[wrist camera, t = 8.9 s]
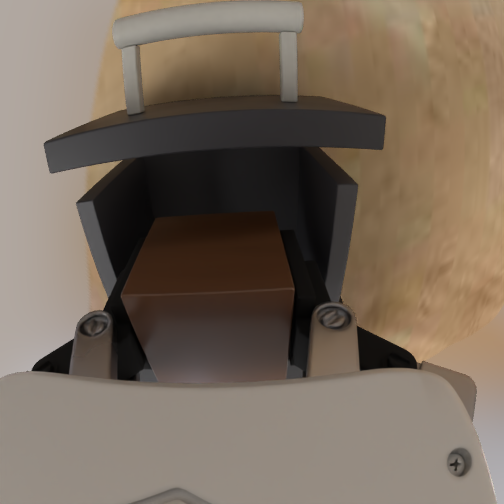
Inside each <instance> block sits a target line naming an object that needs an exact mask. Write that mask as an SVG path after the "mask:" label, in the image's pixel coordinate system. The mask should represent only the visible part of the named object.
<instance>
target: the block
mask: <svg viewBox="0 0 504 504" xmlns="http://www.w3.org/2000/svg"><path fill="white" fill-rule="evenodd" d="M294 293H295V287H294V284H293V280H292V276H291V272H290V268H289V264H288V260H287V257H286V253H285V249H284V245H283V241H282V238H281V234H280V230H279V227H278V223H277V219H276V216H275V212H274V211H254V212H234V213H217V214H201V215H186V216H173V217H160V218H156V219H155V221H154V223H153V225H152V227H151V229H150V231H149V233H148V235H147V237H146V239H145V241H144V244H143V246H142V248H141V250H140V252H139V254H138V256H137V259H136V261H135V263H134V265H133V268H132V270H131V272H130V274H129V277H128V279H127V281H126V284H125V286H124V288H123V291H122V293H121V298H122V301H123V304H124V306H125V309H126V311H127V314H128V316H129V319H130V321H131V323H132V326H133V328H134V331H135V333H136V335H137V337H138V340H139V342H140V344H141V346H142V349H143V351H144V353H145V355H146V357H147V359H148V362H149V364H150V366H151V368H152V370H153V372H154V374H155V376H156V378H157V380H158V382H160V383H237V382H258V381H273V380H285V379H286V376H287V367H288V358H289V348H290V338H291V328H292V317H293V305H294Z"/></svg>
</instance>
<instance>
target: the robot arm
mask: <svg viewBox="0 0 504 504" xmlns="http://www.w3.org/2000/svg"><path fill="white" fill-rule="evenodd" d="M280 234H281V238H282V241H283V245H284V249H285V253H286V257H287V260H288V264H289V268H290V272H291V276H292V280H293V284H294V287H295V293H294V305H293V317H292V328H291V338H290V348H289V359H290V365H291V366H294V365H295V366H296V367H298V368H300V369H301V370H303V371H302V378H296V379H285V380H273V381H258V382H237V383H160V382H140V374H139V372H140V371H142V370H143V369H149V370H152V368H151V366H150V364H149V362H148V359H147V357H146V355H145V353H144V351H143V349H142V346H141V344H140V342H139V340H138V337H137V335H136V333H135V331H134V328H133V326H132V323H131V321H130V319H129V316H128V314H127V311H126V309H125V306H124V304H123V301H122V298H121V293H122V291H123V288H124V286H125V284H126V281H127V279H128V277H129V274H130V272H131V270H132V268H133V265H134V263H135V261H136V259H137V256H138V254H139V252H140V250H141V248H142V246H143V244H144V241H145V239H146V238H140V239H139V240H138V242H137V244H136V246H135V248H134V251H133V253H132V255H131V257H130V259H129V261H128V263H127V265H126V267H125V269H124V270H122V271H121V273H120V275H119V277H118V279H117V281H116V283H115V285H114V287H113V290H112V292H111V294H110V296H109V299H108V301H107V303H106V305H105V308H104V310H103V311H102V310H99V311H93V312H90V313H88V314H86V315H85V316H84V317H82V318H81V319H80V321H79V322H78V324H77V327H76V331H75V337H74V339H73V340H71V341H69V342H68V343H66V344H64V345H63V346H61V347H59V348H58V349H56V350H55V351H53V352H51V353H50V354H48V355H47V356H45V357H43V358H42V359H40V360H39V361H38V362H37V363H36V364H35V365H34V367H33V368H32V371H26V372H17V373H13V374H9V375H6V376H4V377H2V378H0V504H497V500H496V495H495V491H494V486H493V482H492V478H491V475H490V472H489V468H488V465H487V462H486V458H485V455H484V452H483V449H482V446H481V443H480V440H479V438H478V435H477V433H476V430H475V428H474V426H473V423H472V422H473V416H474V409H475V402H476V393H477V390H476V385H475V383H474V381H473V380H472V379H471V378H470V377H469V376H467V375H465V374H462V373H459V372H456V371H453V370H449V369H446V368H443V367H440V366H437V365H434V364H431V363H428V362H425V361H422V363H421V364H420V363H417V362H416V360H415V358H414V356H413V355H412V354H411V353H410V352H408V351H407V350H405V349H403V348H401V347H399V346H397V345H395V344H393V343H391V342H389V341H387V340H385V339H383V338H381V337H379V336H377V335H375V334H373V333H370V332H368V331H366V330H364V329H362V328H360V327H358V326H357V325H356V317H355V314H354V312H353V311H352V309H351V308H349V307H348V306H347V305H345V304H342V303H340V302H334V301H331V299H330V297H329V294H328V291H327V289H326V286H325V283H324V281H323V278H322V275H321V273H320V270H319V268H318V265H317V263H316V261H315V260H310V261H304V258H303V255H302V252H301V249H300V247H299V244H298V241H297V238H296V235H295V232H294V230H280Z"/></svg>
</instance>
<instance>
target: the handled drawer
mask: <svg viewBox="0 0 504 504" xmlns="http://www.w3.org/2000/svg"><path fill="white" fill-rule="evenodd" d="M303 23H304V10H303V6H302V3H301V2H295V1H276V0H241V1H221V2H209V3H199V4H190V5H183V6H176V7H170V8H164V9H159V10H153V11H149V12H144V13H139V14H135V15H131V16H127V17H123V18H119V19H117V20H115V22H114V24H113V29H112V34H113V40H114V43H115V45H116V47H117V48H118V49H122V62H123V75H124V87H125V97H126V107H127V109H126V110H121V111H118V112H115V113H112V114H109V115H107V116H104V117H101V118H99V119H96V120H94V121H91V122H89V123H86V124H84V125H81V126H79V127H77V128H75V129H72V130H70V131H68V132H65V133H63V134H61V135H59V136H57V137H55V138H52V139H50V140H48V141H46V142H45V143H44V148H45V153H46V158H47V162H48V167H49V171H50V173H56V172H61V171H66V170H70V169H75V168H80V167H85V166H91V165H96V164H102V163H107V162H113V161H120V160H123V161H122V162H120V163H119V164H118V165H117V166H116V167H114V168H113V169H112V170H111V171H110V172H109V173H108V174H106V175H105V176H104V177H103V178H102V179H101V180H100V181H99V182H98V183H96V184H95V185H94V186H93V187H92V188H91V189H90V190H89V191H88V192H87V193H86V194H85V195H84V196H83V197H82V198H81V199H80V200H78V202H77V203H76V205H77V209H78V212H79V216H80V219H81V222H82V226H83V229H84V232H85V235H86V238H87V242H88V245H89V248H90V250H91V253H92V256H93V259H94V262H95V265H96V267H97V270H98V273H99V275H100V278H101V281H102V283H103V286H104V288H105V291H106V293H107V296H108V298H109V296H110V294H111V292H112V290H113V287H114V285H115V283H116V281H117V279H118V277H119V275H120V273H121V271H122V270H124V269H125V267H126V265H127V263H128V261H129V259H130V257H131V255H132V253H133V251H134V248H135V246H136V244H137V242H138V240H139V239H140V238H146V237H147V235H148V233H149V231H150V229H151V227H152V225H153V223H154V221H155V219H156V218H160V217H173V216H186V215H201V214H217V213H234V212H254V211H274V212H275V216H276V219H277V223H278V227H279V230H294V232H295V235H296V238H297V241H298V244H299V247H300V249H301V252H302V255H303V258H304V261H310V260H315V261H316V263H317V265H318V268H319V270H320V273H321V275H322V278H323V281H324V283H325V286H326V289H327V291H328V294H329V297H330V299H331V301H334V302H339V299H340V294H341V289H342V284H343V279H344V274H345V269H346V263H347V258H348V252H349V246H350V240H351V234H352V227H353V220H354V213H355V206H356V199H357V191H358V184H357V183H356V182H355V181H354V180H353V179H352V178H351V177H350V176H349V175H348V174H347V173H346V172H345V171H344V170H343V169H342V168H341V167H339V166H338V165H337V164H336V163H335V162H334V161H333V160H332V159H331V158H330V157H329V156H328V155H327V154H326V153H325V152H323V151H322V150H321V149H320V148H319V147H335V148H358V149H374V150H382V149H383V145H384V134H385V123H386V116H384V115H382V114H379V113H376V112H373V111H370V110H367V109H364V108H360V107H357V106H354V105H350V104H347V103H343V102H340V101H336V100H333V99H329V98H325V97H320V96H298V66H297V33H301V31H302V29H303ZM244 32H281V33H280V34H279V53H280V95H256V96H231V97H216V98H204V99H193V100H184V101H176V102H168V103H161V104H155V105H148V106H144V99H143V88H142V76H141V62H140V47H139V46H137V45H142V44H147V43H152V42H158V41H163V40H169V39H176V38H183V37H191V36H200V35H210V34H223V33H244Z"/></svg>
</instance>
